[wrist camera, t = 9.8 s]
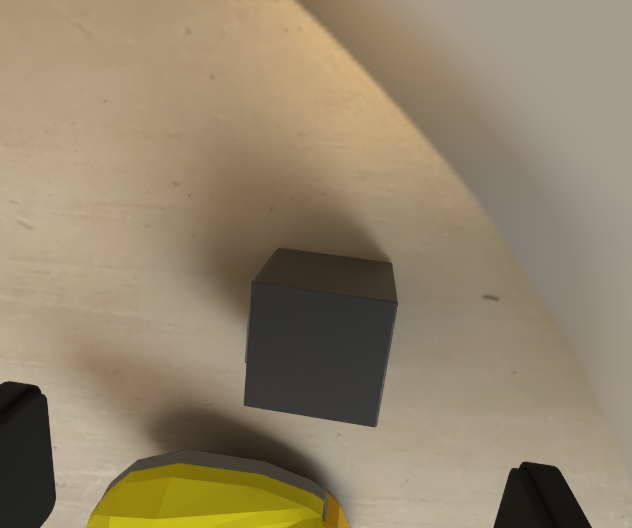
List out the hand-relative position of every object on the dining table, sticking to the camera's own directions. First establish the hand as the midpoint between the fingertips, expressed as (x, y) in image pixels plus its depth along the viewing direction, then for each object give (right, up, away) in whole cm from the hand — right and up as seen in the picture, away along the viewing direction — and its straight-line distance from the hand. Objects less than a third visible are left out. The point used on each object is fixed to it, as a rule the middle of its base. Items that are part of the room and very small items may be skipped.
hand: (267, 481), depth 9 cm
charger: (+1, +3, +9) cm, 9 cm away
